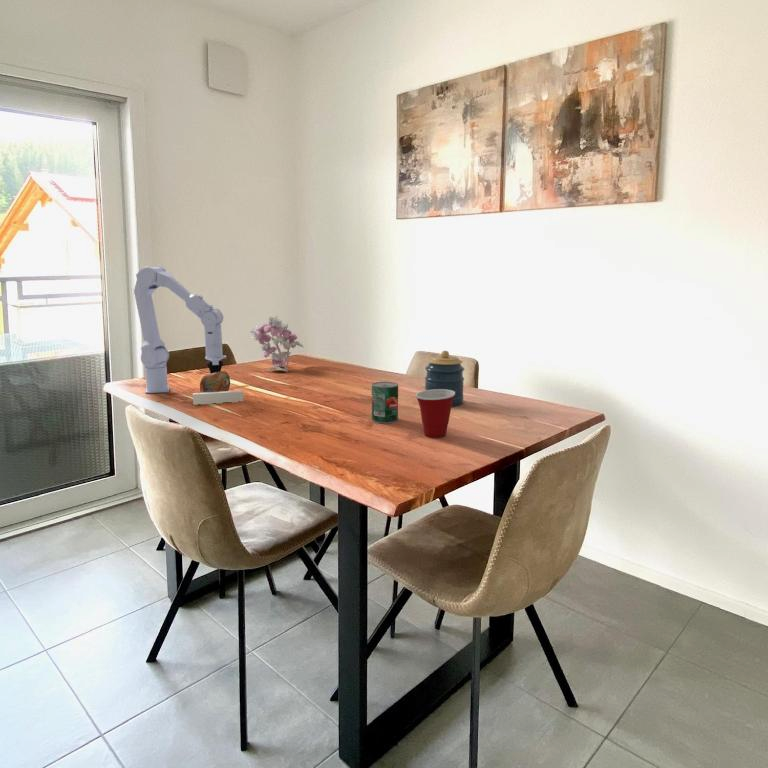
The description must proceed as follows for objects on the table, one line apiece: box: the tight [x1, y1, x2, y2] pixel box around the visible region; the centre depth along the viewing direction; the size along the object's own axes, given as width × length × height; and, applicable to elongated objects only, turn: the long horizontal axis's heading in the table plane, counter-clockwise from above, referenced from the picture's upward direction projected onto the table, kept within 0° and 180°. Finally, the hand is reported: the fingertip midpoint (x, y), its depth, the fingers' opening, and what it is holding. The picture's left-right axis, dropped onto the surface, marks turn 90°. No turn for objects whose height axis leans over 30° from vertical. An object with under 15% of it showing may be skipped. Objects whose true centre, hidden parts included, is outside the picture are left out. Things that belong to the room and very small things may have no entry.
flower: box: [249, 315, 304, 373], centre depth 262 cm, size 20×22×25 cm
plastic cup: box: [414, 389, 455, 439], centre depth 165 cm, size 11×11×12 cm
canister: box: [424, 350, 465, 407], centre depth 203 cm, size 13×13×18 cm
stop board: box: [192, 389, 244, 406], centre depth 202 cm, size 2×16×4 cm, turn 108°
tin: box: [199, 370, 231, 393], centre depth 210 cm, size 15×3×8 cm, turn 162°
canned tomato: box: [371, 381, 399, 424], centre depth 180 cm, size 8×8×11 cm
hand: (215, 382), depth 217 cm, fingers closed
